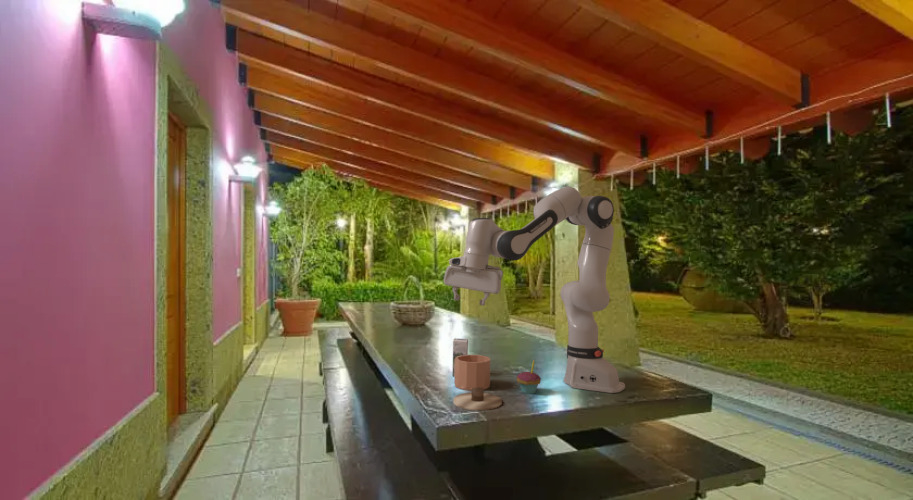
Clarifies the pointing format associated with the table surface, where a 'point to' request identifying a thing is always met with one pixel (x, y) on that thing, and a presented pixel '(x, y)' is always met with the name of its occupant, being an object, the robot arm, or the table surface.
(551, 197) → the robot arm
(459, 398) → the lid
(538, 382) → the cupcake
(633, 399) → the table surface
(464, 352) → the syrup box
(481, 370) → the pot
